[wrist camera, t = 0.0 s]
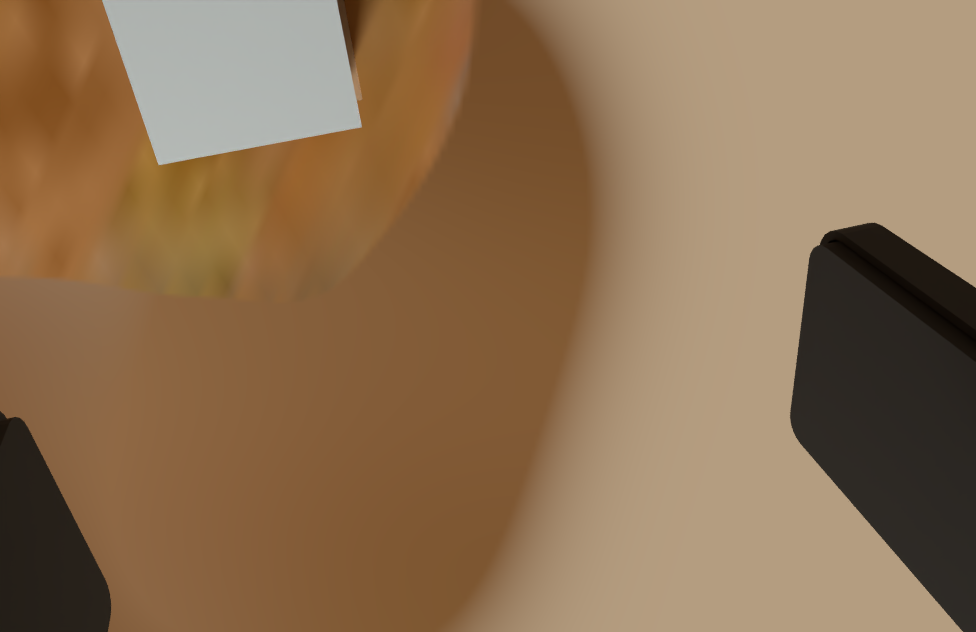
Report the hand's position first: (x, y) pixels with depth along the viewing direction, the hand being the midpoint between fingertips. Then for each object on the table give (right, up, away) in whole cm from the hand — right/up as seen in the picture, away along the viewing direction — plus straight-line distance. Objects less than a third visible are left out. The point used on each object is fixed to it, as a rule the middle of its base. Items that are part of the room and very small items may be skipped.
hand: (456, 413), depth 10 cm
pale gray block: (-9, +13, +21) cm, 26 cm away
